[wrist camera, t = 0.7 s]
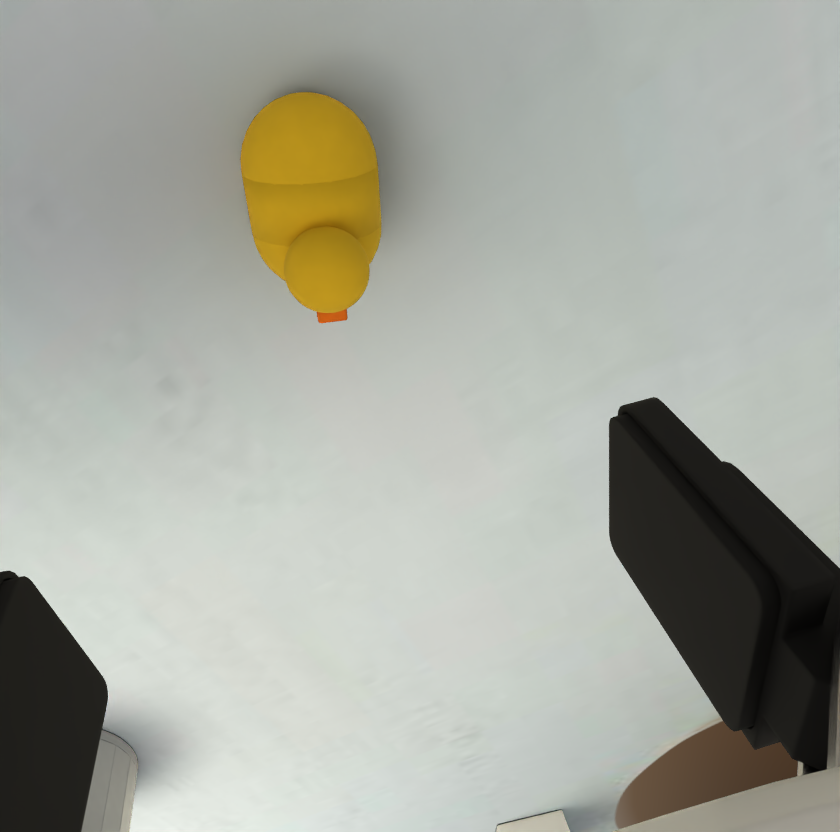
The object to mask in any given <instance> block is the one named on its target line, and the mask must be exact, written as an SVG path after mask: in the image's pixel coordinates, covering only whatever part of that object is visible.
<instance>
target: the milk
mask: <svg viewBox="0 0 840 832" xmlns="http://www.w3.org/2000/svg"><path fill="white" fill-rule="evenodd" d="M496 832H570V830H569V827H568V825H567V822H566V819H565V817H564V814H563V812H562V810H559V811H555V812H551V813H546V814H542V815H538V816H534V817H530V818H526V819H522V820H517V821H513V822H509V823H505V824H501V825H498V826H497V830H496Z"/></svg>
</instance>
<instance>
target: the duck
mask: <svg viewBox="0 0 840 832" xmlns="http://www.w3.org/2000/svg"><path fill="white" fill-rule="evenodd" d="M241 171H242V178H243V184H244V189H245V195H246V201H247V206H248V212H249V218H250V223H251V229H252V234H253V237H254V241H255V244H256V247H257V249H258V251H259V253H260V255H261V257H262V259H263V260H264V262H265V263H266V264H267V265H268V267H269V268H270V269H271V270H272V271H273V272H274V273H275V274H277V275H278V276H279V277H280V278H281V279H283V280H285V281H286V283H287V286H288V288H289V290H290V292H291V293H292V295H293V296H294V297H295V298H296V299H297V300H298V301H299V302H300V303H301V304H302V305H304V306H305V307H307V308H309V309H311V310H313V311H317V317H318V321H319V323H326V322H334V321H342V320H347V308H349V307H350V306H352V305H353V304H354V303H356V302H357V301H358V300H359V299H360V297H361V296H362V294H363V293H364V291H365V289H366V287H367V284H368V280H369V264H370V263H371V262H372V260H373V258H374V255H375V253H376V251H377V249H378V246H379V241H380V237H381V208H380V193H379V178H378V163H377V158H376V152H375V148H374V145H373V142H372V139H371V137H370V134H369V132H368V131H367V129H366V127H365V126H364V124H363V122H362V121H361V120H360V119H359V118H358V117H357V116H356V114H355V113H354V112H353V111H352V110H350V109H349V108H348V107H346V106H345V105H344V104H342V103H341V102H339V101H337V100H335V99H333V98H331V97H329V96H326V95H322V94H317V93H313V92H299V93H291V94H288V95H285V96H283V97H280V98H277V99H275V100H274V101H272V102H271V103H269V104H268V105H266V106H265V107H264V108H263V109H262V110H261V111H260V112H259V113H258V114H257V115H256V116H255V117H254V119H253V121H252V123H251V124H250V126H249V128H248V129H247V131H246V134H245V138H244V141H243V144H242V150H241Z"/></svg>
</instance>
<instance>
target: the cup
mask: <svg viewBox="0 0 840 832" xmlns="http://www.w3.org/2000/svg"><path fill="white" fill-rule="evenodd" d="M137 771H138V760H137V757H136V754H135V752H134V751H133V749H132V748H131V747H130V746H129V745H128V744H127V743H126V742H125V741H123V740H122V739H121V738H119V737H117V736H115V735H114V734H111V733H109V732H106V731H104V730H102V732H101V736H100V741H99V746H98V751H97V756H96V761H95V766H94V771H93V776H92V781H91V786H90V791H89V796H88V801H87V806H86V811H85V816H84V821H83V826H82V831H81V832H129V831H130V823H131V816H132V809H133V802H134V794H135V787H136V779H137Z"/></svg>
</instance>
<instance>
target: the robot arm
mask: <svg viewBox="0 0 840 832" xmlns="http://www.w3.org/2000/svg"><path fill="white" fill-rule="evenodd" d="M609 535H610V541H611V544H612V547H613V549H614V552H615V553H616V555H617V557H618V558H619V560H620V562H621V563H622V565H623V566H624V568H625V569H626V571H627V572H628V574H629V576H630V577H631V579H632V580H633V582H634V583H635V585H636V586H637V588H638V589H639V591H640V593H641V594H642V596H643V597H644V599H645V600H646V602H647V603H648V605H649V607H650V608H651V610H652V611H653V613H654V614H655V616H656V617H657V619H658V620H659V622H660V624H661V625H662V627H663V628H664V630H665V631H666V633H667V634H668V636H669V637H670V639H671V641H672V642H673V644H674V645H675V647H676V648H677V650H678V651H679V653H680V655H681V656H682V658H683V659H684V661H685V662H686V664H687V665H688V667H689V668H690V670H691V672H692V673H693V675H694V676H695V678H696V679H697V681H698V682H699V684H700V686H701V687H702V689H703V690H704V692H705V693H706V695H707V696H708V698H709V699H710V701H711V703H712V704H713V706H714V707H715V709H716V710H717V712H718V713H719V715H720V716H721V718H722V720H723V721H724V722H725V724H726V725H727V726H728V727H729V728H730V729H731V730H733V731H739V730H742V731H743V733H744V735H745V736H746V738H747V739H748V741H749V742H750V744H751V745H752V747H753V748H754V749H755V750H756V749H759V748H762V747H765V746H768V745H771V744H775V743H778V742H781V743H782V745H783V746H784V748H785V749H786V750H787V752H788V753H789V755H790V756H791V758H792V759H794V760H797V761H798V772H797V777H794V778H790V779H786V780H782V781H777V782H773V783H770V784H767V785H764V786H760V787H756V788H753V789H750V790H746V791H743V792H740V793H736V794H733V795H730V796H726V797H723V798H720V799H716V800H713V801H710V802H706V803H703V804H700V805H696V806H693V807H689V808H686V809H683V810H679V811H677V812H673V813H670V814H666V815H663V816H660V817H657V818H653V819H650V820H647V821H644V822H641V823H638V824H635V825H631V826H629V827H625V828H622V829H619V830H616V831H613V832H840V568H839V567H838V566H837V565H836V564H835V563H833V562H832V561H831V560H830V559H829V558H828V557H827V556H826V555H825V554H824V553H823V552H822V551H821V550H820V549H819V548H818V547H817V546H816V545H815V544H814V543H813V542H812V541H811V540H810V539H809V538H808V537H807V536H806V535H805V534H804V533H803V532H802V531H801V530H800V529H799V528H798V527H797V526H796V525H795V524H794V523H793V522H792V521H791V520H790V519H789V518H788V517H787V516H786V515H785V514H784V513H783V512H782V511H781V510H780V509H779V508H778V507H777V506H776V505H775V504H774V503H773V502H772V501H770V500H769V499H768V498H767V497H766V496H765V495H764V494H763V493H762V492H761V491H760V490H759V489H758V488H757V487H756V486H755V485H754V484H753V483H752V482H751V481H750V480H749V479H748V478H747V477H746V476H745V475H744V474H743V473H742V472H741V471H740V470H739V469H738V468H736V467H735V466H734V465H732V464H731V463H728V462H724V461H723V462H721V461H720V460H719V458H718V457H717V456H716V455H715V454H714V453H713V452H712V451H711V450H710V449H709V448H708V447H707V446H706V445H705V444H704V443H703V442H702V441H701V440H700V439H699V438H698V437H697V436H696V435H695V434H694V433H693V432H692V431H691V430H690V429H689V428H688V427H687V426H686V425H685V424H684V423H683V422H682V421H681V420H680V419H679V418H678V417H677V416H676V415H675V414H674V413H673V412H672V411H671V410H670V409H669V408H668V407H667V406H666V405H665V404H664V403H663V402H662V401H661V400H659V399H658V398H654V397H653V398H649V399H645V400H641V401H638V402H634V403H630V404H626V405H623V406H621V407H620V408H619V411H618V416H616V417H613V418H611V419H610V423H609ZM107 701H108V690H107V685H106V682H105V680H104V678H103V676H102V675H101V674H100V672H99V671H98V670H97V668H96V667H95V666H94V664H93V663H92V661H91V660H90V659H89V657H88V656H87V655H86V653H85V652H84V651H83V649H82V648H81V647H80V645H79V644H78V643H77V641H76V640H75V639H74V637H73V636H72V635H71V633H70V632H69V631H68V629H67V628H66V627H65V625H64V624H63V623H62V621H61V620H60V619H59V617H58V616H57V615H56V613H55V612H54V610H53V609H52V608H51V606H50V605H49V604H48V602H47V601H46V600H45V598H44V597H43V596H42V594H41V593H40V592H39V590H38V589H37V588H36V586H35V585H34V584H33V582H32V581H31V580H30V579H29V578H27V577H25V576H23V577H18V576H17V575H16V574H15V573H13V572H11V571H3V572H0V832H81V831H82V826H83V821H84V816H85V811H86V806H87V801H88V796H89V791H90V786H91V781H92V776H93V771H94V766H95V761H96V756H97V751H98V746H99V741H100V736H101V732H102V727H103V722H104V717H105V712H106V707H107Z"/></svg>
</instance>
